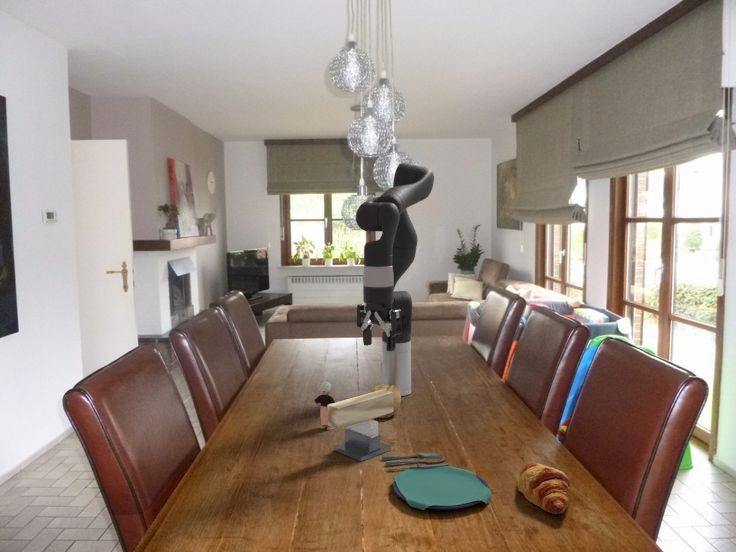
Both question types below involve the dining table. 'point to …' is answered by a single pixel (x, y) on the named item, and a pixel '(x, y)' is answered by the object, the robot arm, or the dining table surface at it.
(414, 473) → the cutlery set
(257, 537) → the dining table surface
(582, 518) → the dining table surface
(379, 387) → the bread roll
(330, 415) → the birch bar
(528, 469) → the croissant
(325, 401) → the grandmother figurine
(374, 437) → the ridge stand
